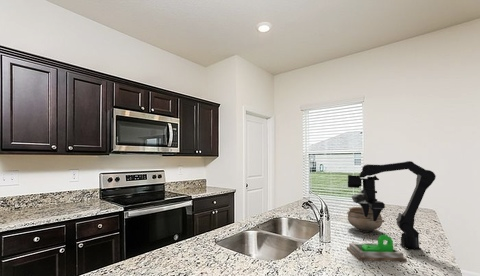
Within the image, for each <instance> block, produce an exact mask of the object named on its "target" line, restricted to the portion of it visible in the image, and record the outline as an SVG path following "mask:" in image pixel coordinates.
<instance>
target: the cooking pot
mask: <svg viewBox="0 0 480 276" xmlns="http://www.w3.org/2000/svg"><path fill="white" fill-rule="evenodd" d="M346 214H347V221H348V223H349V224H350V225H351V226H352V227H354V228H355V229H357V230H358V231H360V232H363V233H370V232H373V231H375V230H377V229H380V228H381V227H382V225H383V222H385V219H383V218H382V215H381V213H380V214H379V216H378V218H377V220H376V221H373V216H372V211H371V209H370V208H369V212H368V216H367V217H365V216H364V213H363V210H362V207H361V206H351V207H348V211H347V213H346Z"/></svg>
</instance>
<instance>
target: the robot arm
mask: <svg viewBox="0 0 480 276" xmlns="http://www.w3.org/2000/svg"><path fill="white" fill-rule="evenodd" d="M402 170H408V171H410V172H411V173H413V174H415V176H416V179H415V180H416V182H415V183H416V184H415V187H414V190H413V192H412V195H411V197H410V198H409V201H408V203H407V204H406V207H405V210H404V211H403V212H402V213H401V212H398V214H397V217H396V219H395V220H396V226H397V227H398V228H399V229H400V231H402V233H401V236H400V246H401V247H403V248H405V249H406V250H422V248H421V247H420V241H419V240H420V238H419V235H420V232H418V230H416V229H415V228H414V226H415V216H416V213H417V211H418V210H419V207H420V204H421V203H422V200H423V198H424V195H425V193H426V191H427V190H428V188H429V187H430V186H431V185H432V184H433V183H434V182H435V180H436V177H437V175H436V174H435V172H434V171H432V170H429V169H425V168H423V167H422V166H420V165H418V164H416V163H414V161H412V160H409V161H408V160H407V161H403V162H393V163H385V164H367V163H366V164H364V165H363V166H362V169H361V171H360V173H359V174H358V175H352V174H348V175H347V188H350V189H352V188H353V189H360V187H362V189H361V190H360V193H357V194H356V193H355V194H353V195H351V199H352V202H353V203H355V204H358V205H359V206H360V207H362V210H363V213H364V216H365V217H367V216H368V212H369V208H370V209H371V211H372V216H373V221H376V220H377V218H378V216H379V214H381V212H382V211H383V210H384V209H385V207H386V206H385V203H384V202H383V201H380V200H378V198H376V196H377V195H376V194H378V191H377V190H376V181H379V180H380V178H378V176H376V175H378V174H380V173H385V172H394V171H395V172H396V171H402Z"/></svg>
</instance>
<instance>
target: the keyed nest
mask: <svg viewBox="0 0 480 276" xmlns="http://www.w3.org/2000/svg"><path fill="white" fill-rule="evenodd" d="M383 244H384V245H385V244H386V243H383ZM362 245H378V242H375V243H373V242H372V243H369V242H368V243H366V242H361V243H359V242H358V243H356V242H349V244H348V246H347V247H346V250H347V251H348V252H349V253H350V254H351V255H353V256H354V257H355V258H356V259H357V261H368V262H369V261H371V262H372V261H377V262H379V261H382V262H390V261H391V262H408V258H406V257H405V256H404V253H403V252H402V251H400V250H398V249H397V248H395V247H394V246H393V252H367V251H362Z"/></svg>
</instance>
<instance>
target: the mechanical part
mask: <svg viewBox="0 0 480 276" xmlns="http://www.w3.org/2000/svg"><path fill="white" fill-rule="evenodd" d="M384 241H386V243H384ZM377 243H378V245H362V251H367V252H393V247H394V241H393V239H392V237H390V236H388V235H387V234H380V235H379V237H378V238H377ZM384 244H385V245H384Z"/></svg>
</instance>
